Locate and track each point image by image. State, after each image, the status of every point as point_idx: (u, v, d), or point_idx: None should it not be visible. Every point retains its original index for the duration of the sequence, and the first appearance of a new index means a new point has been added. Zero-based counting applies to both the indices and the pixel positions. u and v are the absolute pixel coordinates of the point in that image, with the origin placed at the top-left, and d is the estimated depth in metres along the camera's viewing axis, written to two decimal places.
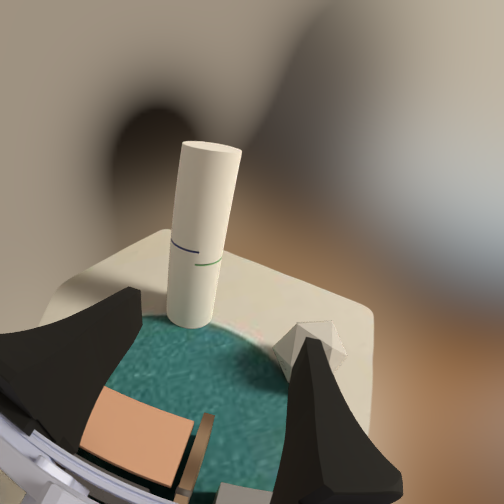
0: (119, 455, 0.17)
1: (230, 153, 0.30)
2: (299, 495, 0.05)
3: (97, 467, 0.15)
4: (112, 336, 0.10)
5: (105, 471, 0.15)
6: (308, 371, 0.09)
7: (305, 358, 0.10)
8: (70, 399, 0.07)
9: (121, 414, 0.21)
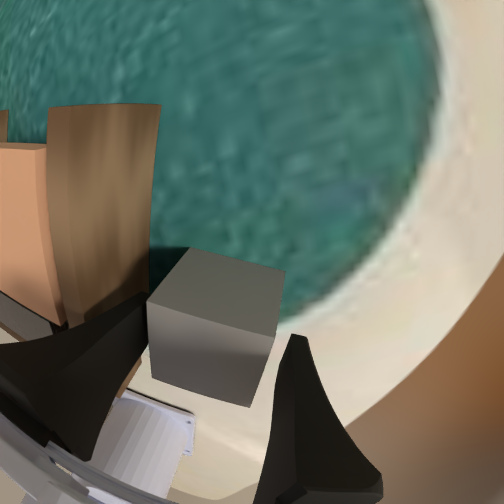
0: None
1: None
2: (277, 492, 0.05)
3: None
4: (126, 342, 0.10)
5: (5, 298, 0.11)
6: (291, 368, 0.09)
7: (289, 355, 0.10)
8: (85, 408, 0.07)
9: None
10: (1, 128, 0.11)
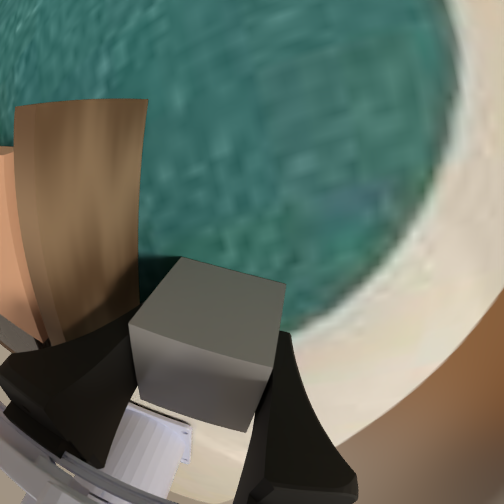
0: None
1: None
2: (250, 488, 0.05)
3: None
4: None
5: None
6: None
7: None
8: (100, 416, 0.07)
9: None
10: None
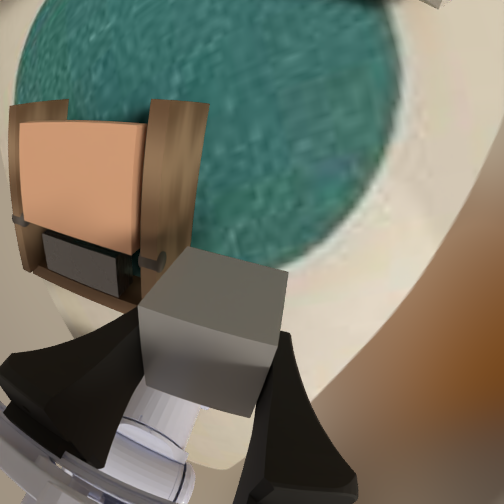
0: (70, 223, 0.15)
1: None
2: (250, 488, 0.05)
3: (63, 242, 0.16)
4: (140, 348, 0.10)
5: (70, 245, 0.16)
6: (271, 363, 0.09)
7: None
8: (100, 416, 0.07)
9: (50, 156, 0.13)
10: (62, 113, 0.17)
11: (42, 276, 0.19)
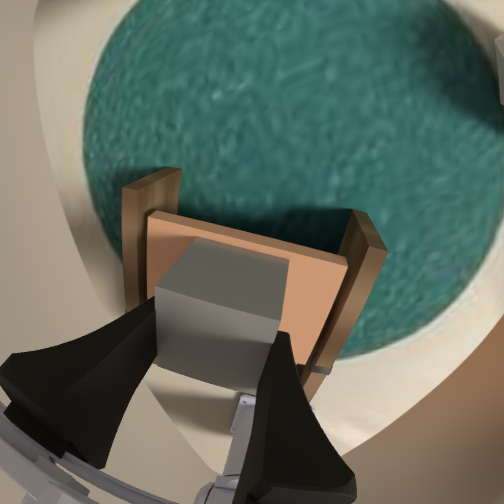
0: None
1: None
2: (249, 488, 0.05)
3: None
4: (140, 348, 0.10)
5: None
6: (270, 363, 0.09)
7: (270, 350, 0.10)
8: (101, 416, 0.07)
9: None
10: (176, 188, 0.18)
11: (155, 363, 0.20)
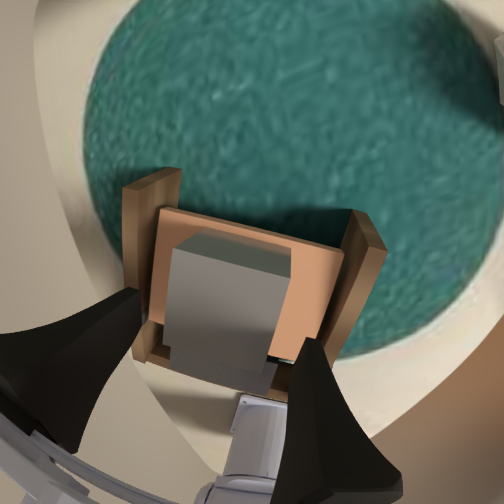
0: None
1: None
2: (299, 495, 0.05)
3: None
4: (112, 336, 0.10)
5: None
6: (308, 371, 0.09)
7: (305, 358, 0.10)
8: (70, 399, 0.07)
9: None
10: (176, 188, 0.18)
11: (155, 363, 0.20)
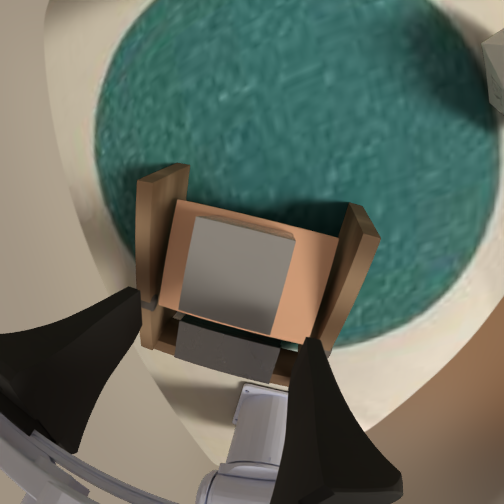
0: None
1: None
2: (299, 495, 0.05)
3: (212, 333, 0.19)
4: (112, 336, 0.10)
5: (223, 336, 0.19)
6: (308, 371, 0.09)
7: (305, 358, 0.10)
8: (70, 399, 0.07)
9: None
10: (185, 182, 0.19)
11: (162, 350, 0.22)
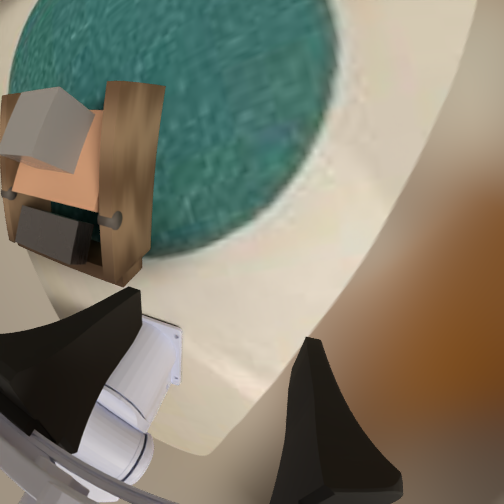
0: (51, 187, 0.17)
1: None
2: (299, 495, 0.05)
3: (38, 212, 0.17)
4: (112, 336, 0.10)
5: (43, 213, 0.17)
6: (308, 371, 0.09)
7: (305, 358, 0.10)
8: (70, 399, 0.07)
9: None
10: None
11: (25, 247, 0.20)
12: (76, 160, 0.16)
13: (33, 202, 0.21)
